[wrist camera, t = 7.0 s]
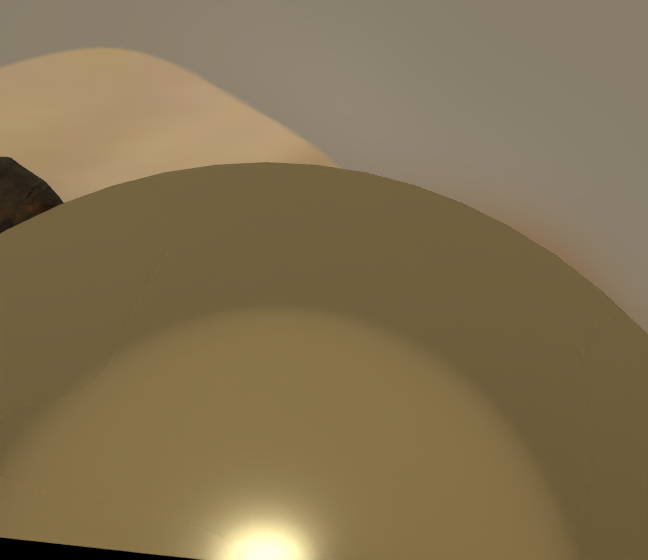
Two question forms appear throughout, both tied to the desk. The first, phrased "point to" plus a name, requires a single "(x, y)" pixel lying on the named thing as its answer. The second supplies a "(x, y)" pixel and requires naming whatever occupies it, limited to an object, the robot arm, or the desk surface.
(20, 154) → the desk surface
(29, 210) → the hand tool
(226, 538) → the brass hinge pin
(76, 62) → the desk surface
